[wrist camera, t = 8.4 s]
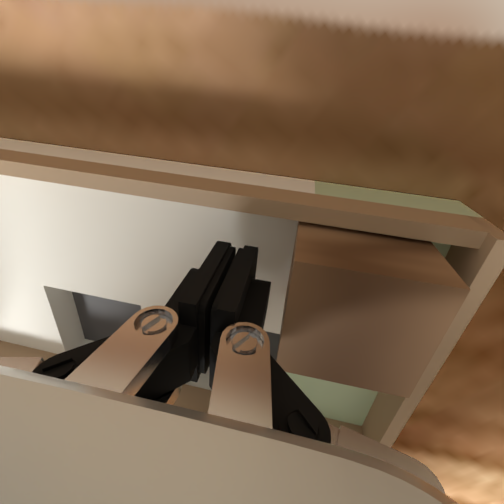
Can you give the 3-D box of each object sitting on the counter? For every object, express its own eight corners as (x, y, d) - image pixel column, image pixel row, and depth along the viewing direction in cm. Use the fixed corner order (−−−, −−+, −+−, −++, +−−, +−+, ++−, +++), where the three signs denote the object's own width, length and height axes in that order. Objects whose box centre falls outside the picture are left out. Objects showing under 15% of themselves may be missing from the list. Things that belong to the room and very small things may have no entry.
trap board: (458, 200, 12) (519, 242, 8) (363, 403, 19) (375, 472, 15) (-66, 128, 15) (-180, 137, 11) (18, 324, 22) (-38, 367, 18)
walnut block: (419, 227, 11) (470, 290, 7) (383, 317, 13) (408, 398, 9) (300, 210, 11) (294, 260, 8) (284, 299, 13) (274, 369, 10)
